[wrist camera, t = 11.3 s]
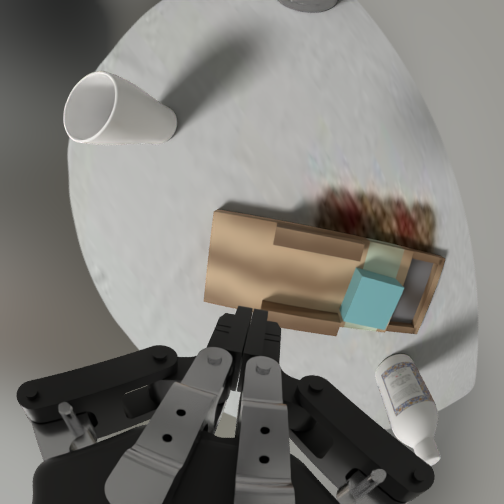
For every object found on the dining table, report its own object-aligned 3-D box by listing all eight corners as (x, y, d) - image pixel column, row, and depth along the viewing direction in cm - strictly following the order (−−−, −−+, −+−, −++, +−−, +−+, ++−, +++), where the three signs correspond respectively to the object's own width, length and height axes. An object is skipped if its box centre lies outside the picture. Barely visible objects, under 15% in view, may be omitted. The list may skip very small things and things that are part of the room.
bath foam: (404, 381, 38) (439, 469, 19) (369, 384, 39) (395, 481, 20) (416, 350, 36) (464, 440, 17) (380, 353, 37) (419, 455, 18)
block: (355, 267, 31) (362, 276, 29) (395, 278, 31) (404, 287, 28) (339, 309, 33) (343, 321, 30) (378, 318, 33) (384, 329, 30)
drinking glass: (148, 98, 30) (76, 69, 16) (191, 107, 30) (130, 71, 16) (132, 144, 32) (54, 138, 18) (174, 155, 32) (103, 150, 18)
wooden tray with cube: (217, 209, 34) (208, 214, 29) (440, 255, 31) (456, 266, 27) (207, 295, 37) (198, 310, 33) (413, 329, 35) (424, 344, 31)
